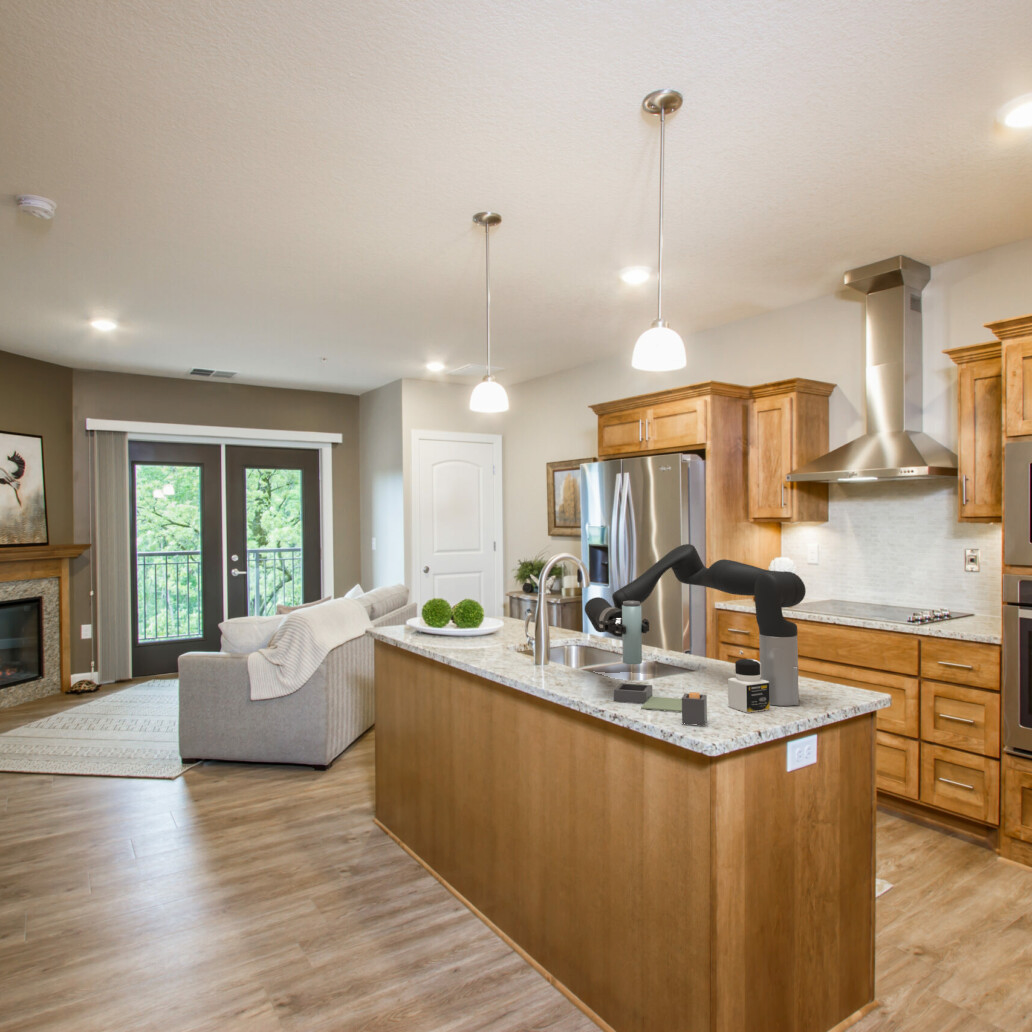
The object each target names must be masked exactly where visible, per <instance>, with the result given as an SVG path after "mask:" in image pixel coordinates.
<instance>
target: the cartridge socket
mask: <svg viewBox="0 0 1032 1032" xmlns="http://www.w3.org/2000/svg"><path fill="white" fill-rule="evenodd" d="M650 697H653V684H643V683H642V684H641V683H640V684H638V683H636V684H635V683H625V682H624V683H623V682H620V683H619V684H618V685H617V686H616V687H615V688H614V689H613V702H614V701H619V702H618V703H626V702H633V703H632V704H640V703H645V702H647V701H648V700H649V698H650Z"/></svg>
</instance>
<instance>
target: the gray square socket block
mask: <svg viewBox="0 0 1032 1032" xmlns="http://www.w3.org/2000/svg"><path fill="white" fill-rule="evenodd" d="M707 696H708V695H707V694H700V699H697V698H689V693H684V694H683V695H682V698H681V699H682V713H681V724H682V723H683V724H684V723H685V724H697V725H705V726H706V724H707V722H706V721H708V710H707V709H708V705H707V704H708V699H707ZM705 723H706V724H705ZM683 724H682V725H683Z"/></svg>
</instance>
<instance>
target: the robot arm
mask: <svg viewBox="0 0 1032 1032" xmlns="http://www.w3.org/2000/svg"><path fill="white" fill-rule="evenodd" d="M669 569H671V570H672V571H673V574H674V576H675V578H676V579H677V581H679V582H680V583H681V584H685V585H692V586H701V587H705V588H710V589H713V590H716V591H717V590H718V591H719V592H720V591H721V592H723V593H727V594H730V595H736V596H751V597H754V603H755V604H754V605H755V606H754V607H755V618H756V623H757V626H758V631H759V632H758V635H759V639H758V640H759V643H758V644H759V662H760V663H761V677H760V679H762V680H766V681H769V705H773V706H780V707H782V706H783V707H785V706H787V707H788V706H799V705H800V703H799V699H800V695H799V654H798V650H799V649H798V648H799V647H798V644H799V643H798V625H797V624H796V623H795V622H794V621H793V622H792V621H789V620H788V619H786V618H785V617H784V615H783V614H784V613H783V608H784V609H785V608H791V607H794V606H797V605H799V604H800V603H802V601H803V600H804V599H805V596H806V585H805V583H804V581H803V580H802V578H801V577H800V576H799V575H798V574H796V573H795V572H791V571H785V570H784V571H779V570H769V569H766V568H765V569H764V568H761V567H757V566H754V565H752V564H747V563H743V562H741V561H735V560H730V559H726V558H724V559H720V560H719V559H718V560H717V561H715V562H713V563H712V564H711V565H710V566H709V567H706V566H705V565H704V563H703V561H702V559H701V557H700V555H699V553H698V551H697V548H696V547H695V546H694V545H693V544H691V543H689V544H688V543H685V544H682V545H679V546H676V547H675V548H673V549H671V550H670V551H669V552H668V553H667V554H665V555H664V556H662V558H660V559H659V560H658V561H656V562H655V563H654V564H653V565H652V566H651V567H649V568H648V569H647V570H646V571H644V573H642V574H641V575H640V576H638V577H637V578H635V579H634V580H632V581H631V582H629V583H628V584H625V585H624V586H622V587H620V588H619V589H618V590H616V591H614V592H613V593H612V595H611V596H612V602H613V606H614V607H613V606H612V605H611V604H610V603H609V602H608V601H607V600H606V599H605V598H603V597H599V596H598V597H592V598H590V599H589V600H588V601H587V602H586V603H585V605H584V612H585V614H586V616H587V618H588V620H589V622H590V623H591V625H592V626H593V628H594V630H595V631H596V632H598V633H608V634H609V635H612V636H613V637H617V638H622V634H626V626H625V625H623V624H622V605H623V601H640V605H641V604H642V603H644V602H645V601H646V600H647V599H648V598H649V597H650V596H651V594H652V592H653V590H654V589H655V587H656V586H657V583H658V582H659V580H660V579H661V578H662V576H664V574H665V573H666V572H667V571H668V570H669ZM641 622H642V634H647V632H650V621H649V620H648V619H646V618H643V619H641Z"/></svg>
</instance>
